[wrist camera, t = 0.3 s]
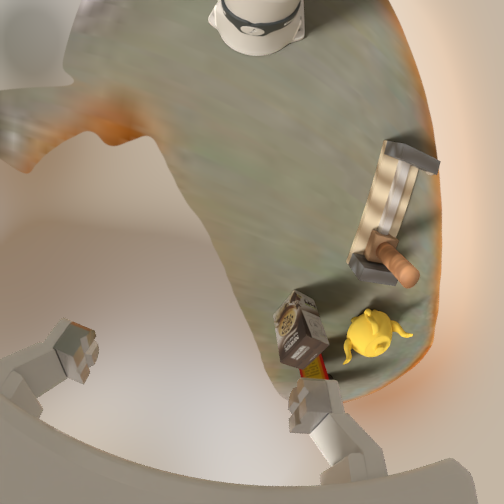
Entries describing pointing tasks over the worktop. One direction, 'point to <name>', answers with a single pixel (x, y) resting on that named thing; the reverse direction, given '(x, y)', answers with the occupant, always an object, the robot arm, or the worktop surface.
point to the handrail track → (380, 202)
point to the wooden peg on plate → (391, 258)
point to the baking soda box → (315, 369)
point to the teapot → (371, 334)
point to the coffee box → (299, 331)
